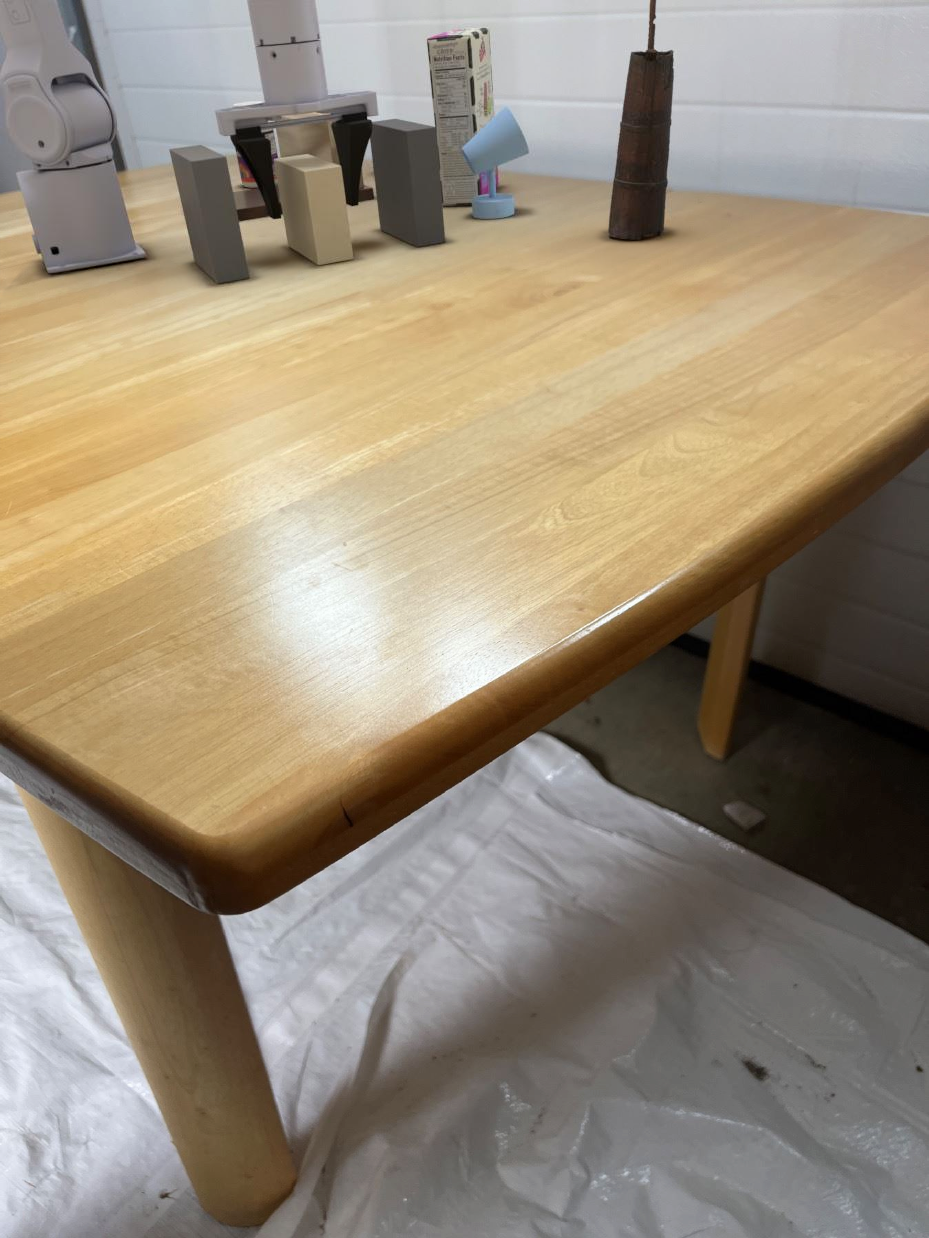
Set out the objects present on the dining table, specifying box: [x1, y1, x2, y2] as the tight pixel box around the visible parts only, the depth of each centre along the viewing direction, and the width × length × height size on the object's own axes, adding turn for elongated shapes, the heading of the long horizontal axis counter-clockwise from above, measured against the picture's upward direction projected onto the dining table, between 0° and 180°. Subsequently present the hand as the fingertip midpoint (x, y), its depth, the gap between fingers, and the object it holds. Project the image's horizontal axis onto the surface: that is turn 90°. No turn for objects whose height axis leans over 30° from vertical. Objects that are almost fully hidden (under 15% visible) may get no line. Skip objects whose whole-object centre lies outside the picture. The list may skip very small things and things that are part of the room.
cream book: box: [274, 154, 354, 266], centre depth 88 cm, size 4×10×8 cm, turn 25°
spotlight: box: [461, 105, 530, 220], centre depth 96 cm, size 5×10×7 cm
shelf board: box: [233, 112, 375, 221], centre depth 110 cm, size 20×12×9 cm, turn 115°
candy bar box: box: [426, 26, 500, 207], centre depth 103 cm, size 11×5×16 cm, turn 168°
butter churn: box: [607, 0, 675, 240], centre depth 78 cm, size 9×10×28 cm
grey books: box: [169, 118, 446, 285], centre depth 87 cm, size 22×10×10 cm, turn 115°
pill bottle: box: [232, 100, 279, 189], centre depth 123 cm, size 5×5×10 cm
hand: (314, 211), depth 88 cm, fingers open, 7 cm apart
